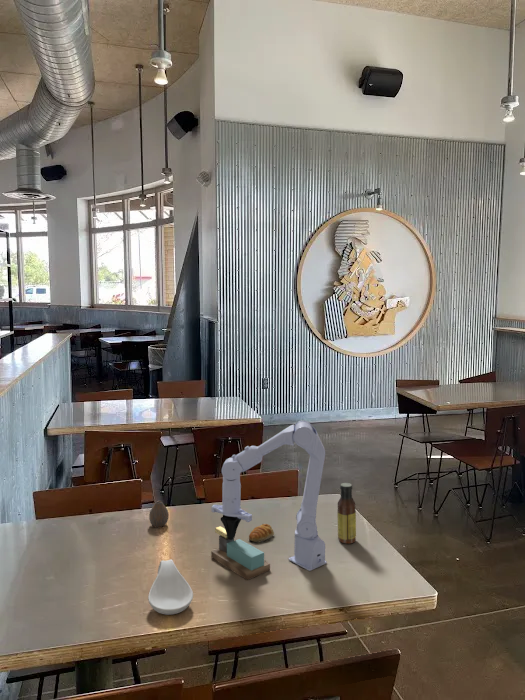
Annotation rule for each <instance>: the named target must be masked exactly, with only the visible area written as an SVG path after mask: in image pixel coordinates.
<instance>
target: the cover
mask: <svg viewBox="0 0 525 700" xmlns="http://www.w3.org/2000/svg"><path fill="white" fill-rule="evenodd" d="M227 556H228V557H230V558H231V559H233V560H235V561H236V562H238V563H240V564H241V565H243V566H244V567H246V568H248V569H249V570H251V571H252V570H254V569H257V568H259V567H261V566H264V561H265V552H264V551H262V550H260V549H259V548H256V547H255V546H253V545H251V544H250V543H247V542H246V541H244V540H242V539H241V538H238V539H236V540H235V539H234V541H232V542H230V543H227Z"/></svg>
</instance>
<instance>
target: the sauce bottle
mask: <svg viewBox="0 0 525 700" xmlns="http://www.w3.org/2000/svg"><path fill="white" fill-rule="evenodd" d="M339 486H340V487H339V488H340V498H339V500H338V501H337V512H336V513H337V540H338V541H339V542H340V543H342V544H346V545H349V544H350V545H351V544H354V543H356V540H357V514H356V513H357V512H356V511H357V510H356V502H355V500H354V498H353V492H352V490H353V484H352V483H349V482H342V483H340V485H339Z"/></svg>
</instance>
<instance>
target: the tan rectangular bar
mask: <svg viewBox="0 0 525 700" xmlns="http://www.w3.org/2000/svg"><path fill="white" fill-rule="evenodd" d="M214 532H215V534H217V535H218V536H220V535H221V536H222V537H224V538H226V539H227V538H228V537H227V533H226V530H225V527H223V526H221V525H220V526H217V527H215V528H214Z"/></svg>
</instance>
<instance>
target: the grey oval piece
mask: <svg viewBox="0 0 525 700" xmlns="http://www.w3.org/2000/svg"><path fill="white" fill-rule="evenodd" d="M148 514H149V515H148V516H149V517H148V519H149V523H150V524H151V525H152V527H154V528H157V527H159V528H162V526H163V527H165V526H166V525H167V523H168V521H169V516H170V515H169V510H168V508H167V506H165V505H164V503H163V501H161V500H158V501H157V500H156V501H155V503H154V504H153V505H152V507H151V509H150V510H149V513H148Z"/></svg>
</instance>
